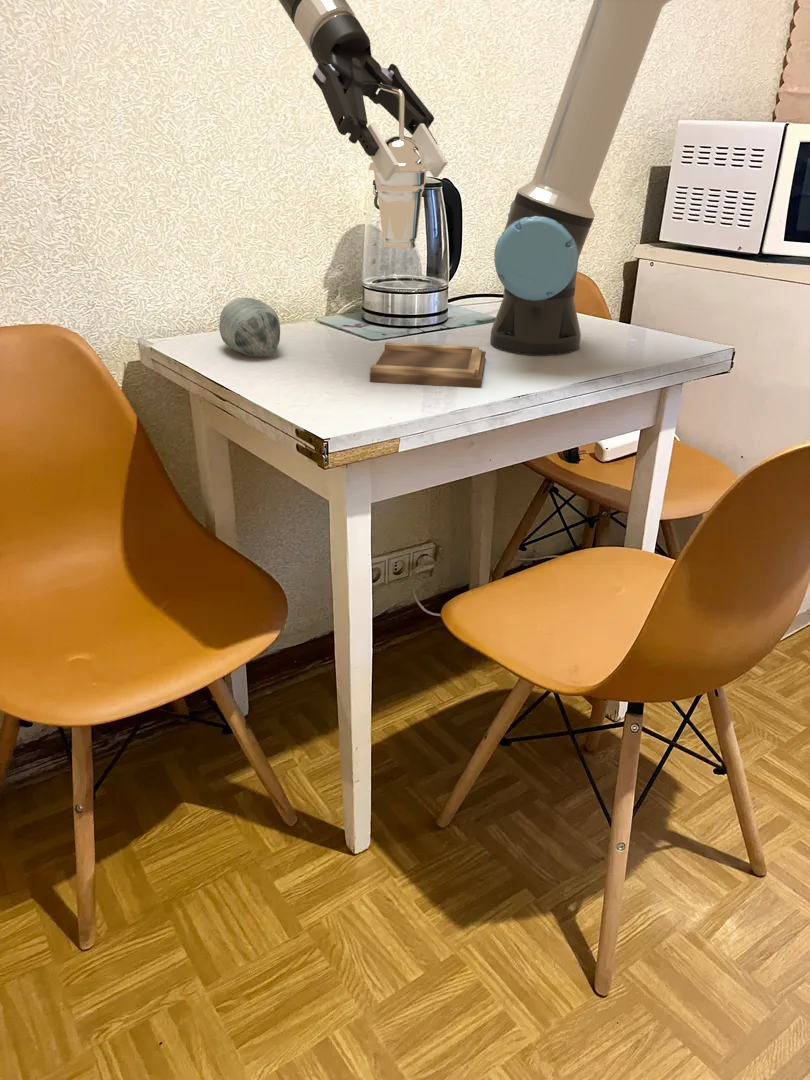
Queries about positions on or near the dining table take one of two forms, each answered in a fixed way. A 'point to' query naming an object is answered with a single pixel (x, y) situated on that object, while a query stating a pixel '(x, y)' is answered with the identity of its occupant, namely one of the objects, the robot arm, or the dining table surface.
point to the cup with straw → (401, 186)
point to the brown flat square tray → (429, 365)
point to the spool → (250, 327)
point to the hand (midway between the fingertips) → (416, 171)
